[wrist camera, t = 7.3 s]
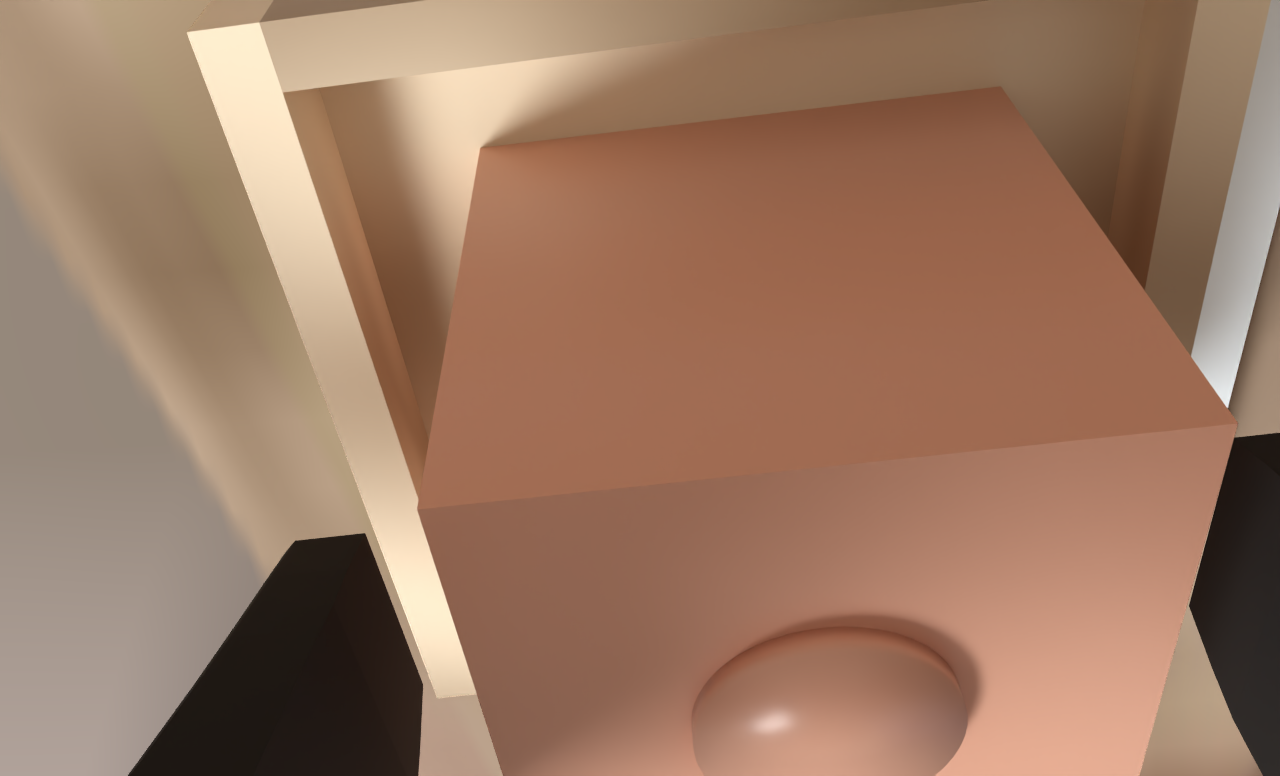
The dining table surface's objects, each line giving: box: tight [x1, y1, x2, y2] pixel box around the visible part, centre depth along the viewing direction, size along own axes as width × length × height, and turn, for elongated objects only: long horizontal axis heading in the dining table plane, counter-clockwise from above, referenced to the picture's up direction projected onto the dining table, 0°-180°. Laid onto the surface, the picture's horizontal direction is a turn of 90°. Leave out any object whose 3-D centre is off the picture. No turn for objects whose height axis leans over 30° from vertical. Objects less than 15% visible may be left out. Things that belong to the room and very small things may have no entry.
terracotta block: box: [417, 86, 1238, 776], centre depth 10 cm, size 5×5×5 cm
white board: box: [1191, 0, 1280, 408], centre depth 14 cm, size 14×12×1 cm
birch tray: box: [187, 0, 1271, 698], centre depth 13 cm, size 9×9×3 cm
